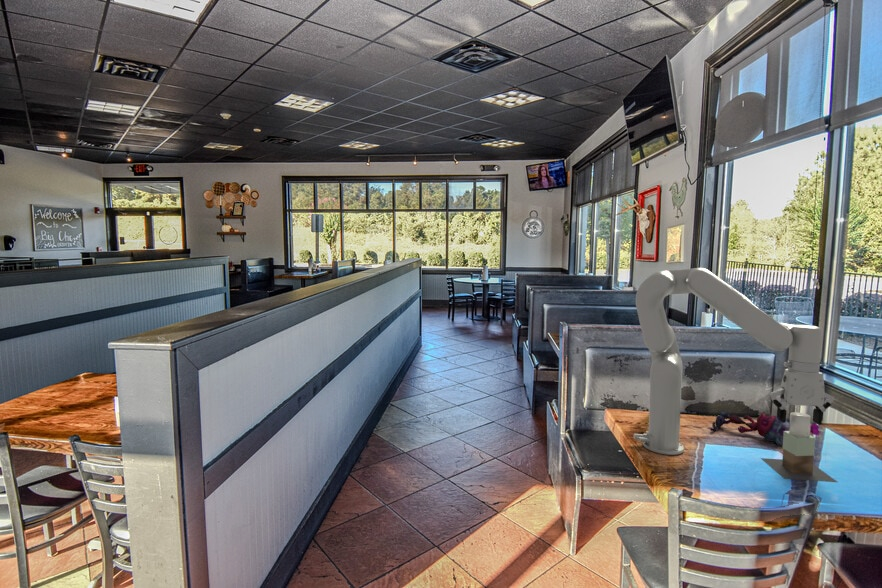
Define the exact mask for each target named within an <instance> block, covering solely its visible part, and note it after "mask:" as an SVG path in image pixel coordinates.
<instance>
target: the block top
mask: <svg viewBox="0 0 882 588" xmlns="http://www.w3.org/2000/svg"><path fill="white" fill-rule="evenodd" d="M783 449H785V450H786V451H788V452H790V453H792V454H793V455H795V456H814V457H815V451H816V437H814V436H812V435H811V434H810V437H808V438H803V437H797V436H794V435H791V434H790V433H789V431H784V434H783V447H782V450H783Z"/></svg>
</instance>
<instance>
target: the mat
mask: <svg viewBox="0 0 882 588" xmlns="http://www.w3.org/2000/svg"><path fill="white" fill-rule="evenodd" d="M760 459H761V460H762V461H763V463H764V462H765V464H767V466H769V467H770V468H771V469H772V470H773V471H775V472H776V473H777V474H778V475H779V476H781V477H782V478H783V480H797V481H798V480H799V481H814V482H815V481H816V482H829V483H838V481H837V480H836V479H835V478H833V477H831V476H830V475H829V474H828V473H827V472H825V471H824V470H822V469H820V468H819V467H818V466H817V465H815V464H814V463H813V474H801V473H792V472H790V471H789V470H788V469H787V468H785V467H784V466H783V465H782V461H783V458H782V459H780V458H764V457H763V458H762V457H760Z"/></svg>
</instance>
